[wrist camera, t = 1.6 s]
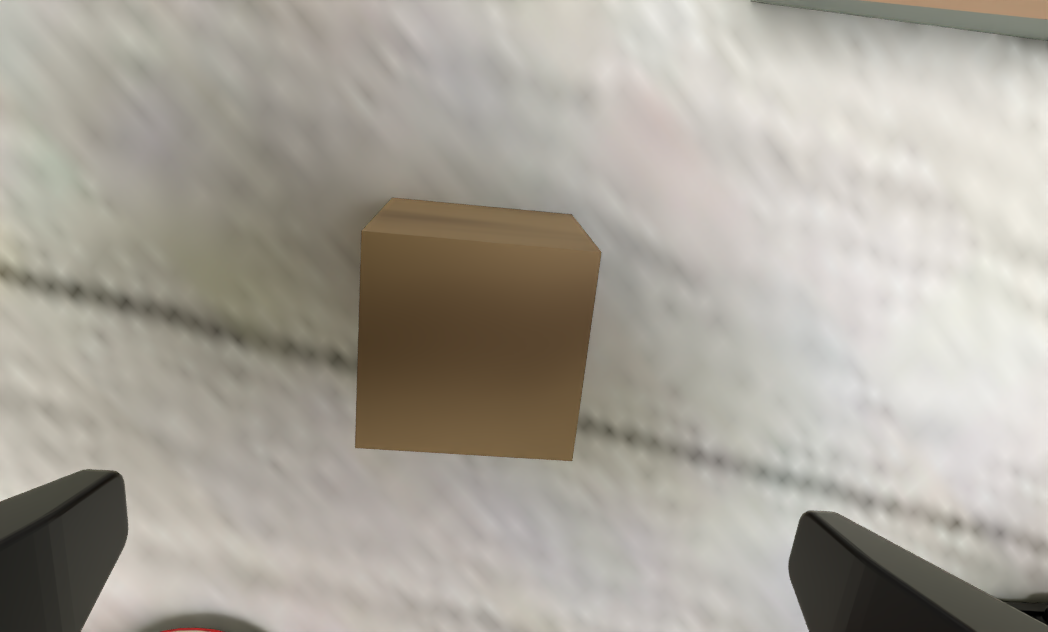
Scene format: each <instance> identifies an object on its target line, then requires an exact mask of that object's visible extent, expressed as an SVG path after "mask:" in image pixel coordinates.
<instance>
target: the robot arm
mask: <svg viewBox="0 0 1048 632" xmlns="http://www.w3.org/2000/svg"><path fill="white" fill-rule="evenodd" d="M127 535H128V517H127V506H126V495H125V484H124V480H123V477H122V475H121V474H119V473H118V472H117V471H110V470H92V469H87V470H82V471H79V472H76V473H73V474H71V475H68V476H66V477H63V478H60V479H58V480H55V481H53V482H50V483H47V484H45V485H42V486H40V487H37V488H34V489H32V490H29V491H27V492H24V493H21V494H19V495H16V496H14V497H11V498H8V499H6V500H3V501H1V502H0V632H81V630H82V628H83V626H84V624H85V622H86V620H87V618H88V616H89V614H90V612H91V610H92V608H93V606H94V605H95V603H96V601H97V599H98V597H99V595H100V593H101V591H102V589H103V587H104V585H105V583H106V581H107V579H108V577H109V575H110V573H111V571H112V569H113V568H114V566H115V564H116V562H117V560H118V558H119V556H120V554H121V552H122V550H123V548H124V546H125V543H126V540H127ZM788 568H789V576H790V580H791V583H792V586H793V588H794V591H795V594H796V597H797V599H798V602H799V605H800V608H801V610H802V613H803V616H804V619H805V621H806V624H807V627H808V630H809V632H1048V604H1042V603H1019V602H1002V601H1001V600H999V599H997V598H995V597H993V596H991V595H989V594H987V593H986V592H984V591H982V590H980V589H978V588H976V587H974V586H973V585H971V584H969V583H967V582H965V581H963V580H961V579H959V578H958V577H956V576H954V575H952V574H950V573H948V572H946V571H945V570H943V569H941V568H939V567H937V566H935V565H933V564H931V563H930V562H928V561H926V560H924V559H922V558H920V557H918V556H916V555H915V554H913V553H911V552H909V551H907V550H905V549H903V548H902V547H900V546H898V545H896V544H894V543H892V542H890V541H888V540H887V539H885V538H883V537H881V536H879V535H877V534H875V533H873V532H872V531H870V530H868V529H866V528H864V527H862V526H860V525H859V524H857V523H855V522H853V521H851V520H849V519H847V518H845V517H844V516H842V515H840V514H838V513H835V512H829V511H807V512H805V513H804V514H803V515H802V516H801V518H800V520H799V524H798V527H797V531H796V535H795V539H794V543H793V546H792V550H791V554H790V558H789V566H788Z"/></svg>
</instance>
